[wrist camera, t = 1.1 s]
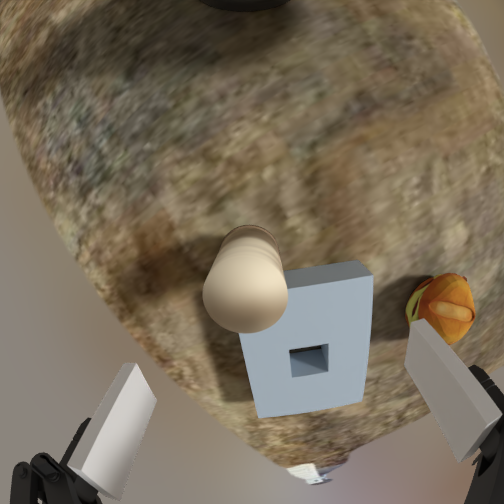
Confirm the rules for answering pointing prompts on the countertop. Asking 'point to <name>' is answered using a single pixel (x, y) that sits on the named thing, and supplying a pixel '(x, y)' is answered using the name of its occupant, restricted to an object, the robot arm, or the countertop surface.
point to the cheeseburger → (443, 306)
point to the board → (314, 342)
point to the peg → (246, 282)
